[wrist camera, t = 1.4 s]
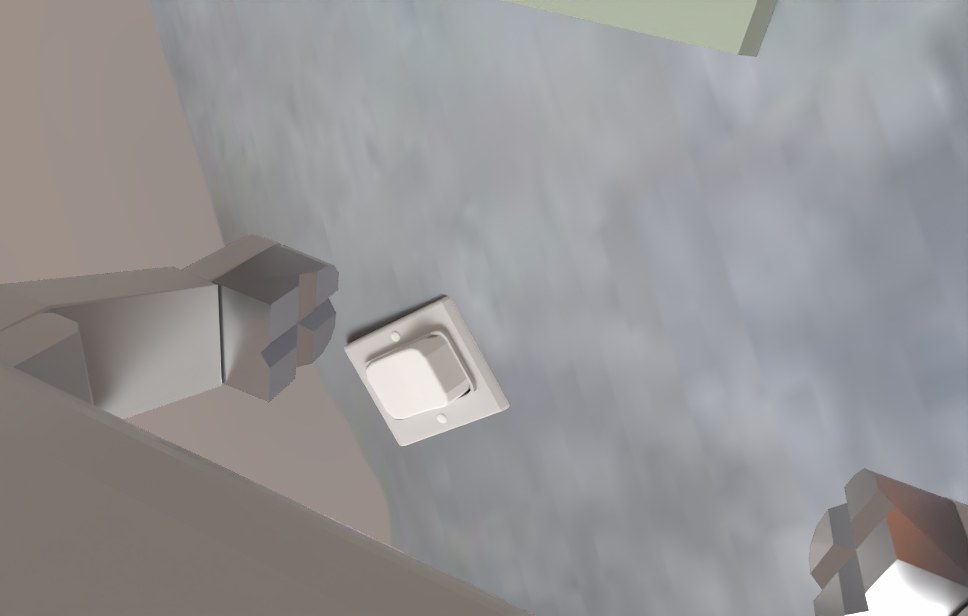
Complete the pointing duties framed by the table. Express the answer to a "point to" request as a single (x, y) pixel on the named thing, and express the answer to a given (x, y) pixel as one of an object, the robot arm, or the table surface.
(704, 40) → the sage green block
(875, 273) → the table surface
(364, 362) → the light switch
